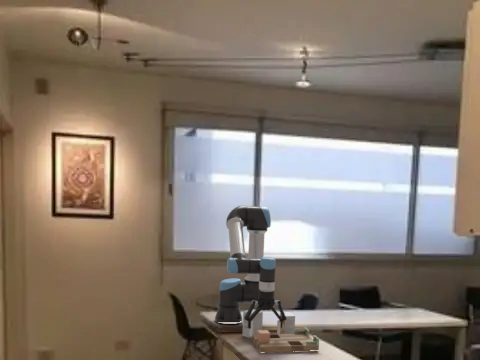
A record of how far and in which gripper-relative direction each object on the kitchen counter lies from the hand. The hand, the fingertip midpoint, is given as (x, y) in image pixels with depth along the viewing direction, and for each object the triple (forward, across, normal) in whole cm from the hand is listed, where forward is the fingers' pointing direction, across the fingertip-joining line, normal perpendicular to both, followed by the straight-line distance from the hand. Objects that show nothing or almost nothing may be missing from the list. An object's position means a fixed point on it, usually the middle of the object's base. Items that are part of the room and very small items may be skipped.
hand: (264, 335), depth 234 cm
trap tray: (+5, +10, 0) cm, 11 cm away
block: (+2, 0, 0) cm, 2 cm away
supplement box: (+6, -2, +16) cm, 17 cm away
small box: (+6, +17, +18) cm, 26 cm away
